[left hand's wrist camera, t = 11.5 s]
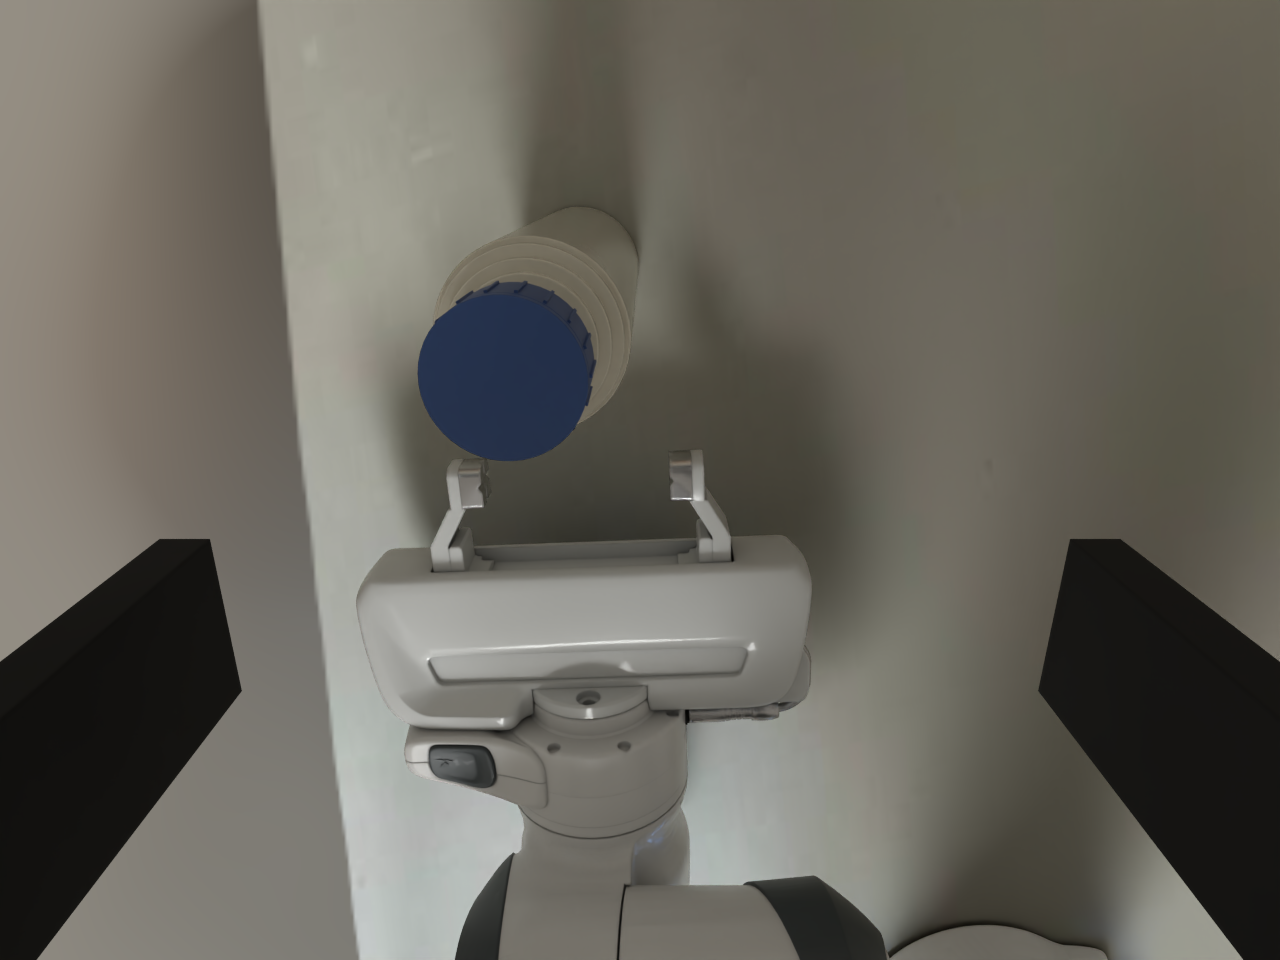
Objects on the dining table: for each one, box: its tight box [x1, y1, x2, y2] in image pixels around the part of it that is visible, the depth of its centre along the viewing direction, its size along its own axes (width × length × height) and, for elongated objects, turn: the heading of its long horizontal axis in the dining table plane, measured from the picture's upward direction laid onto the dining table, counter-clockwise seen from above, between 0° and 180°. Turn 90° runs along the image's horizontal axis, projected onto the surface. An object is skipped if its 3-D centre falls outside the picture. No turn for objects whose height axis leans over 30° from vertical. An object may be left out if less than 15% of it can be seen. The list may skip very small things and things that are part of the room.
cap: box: [418, 281, 597, 461], centre depth 19 cm, size 4×4×2 cm
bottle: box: [433, 207, 639, 424], centre depth 28 cm, size 6×6×21 cm
